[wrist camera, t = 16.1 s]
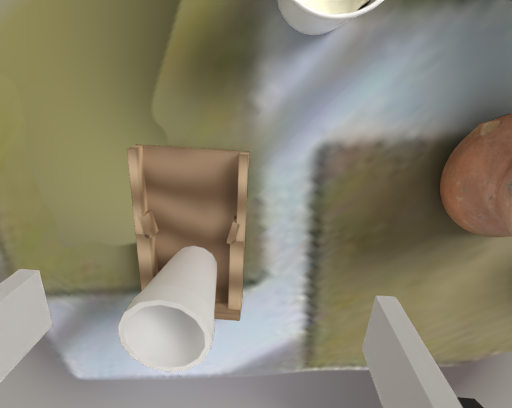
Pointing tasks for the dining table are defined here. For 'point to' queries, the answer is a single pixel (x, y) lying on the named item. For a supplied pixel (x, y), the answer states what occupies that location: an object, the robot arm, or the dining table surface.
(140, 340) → the foam cup
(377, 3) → the candle holder
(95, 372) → the dining table surface
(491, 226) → the ceramic jug
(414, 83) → the dining table surface
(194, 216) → the track
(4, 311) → the robot arm
